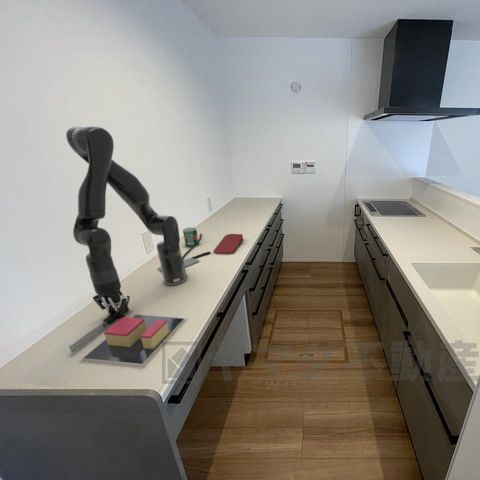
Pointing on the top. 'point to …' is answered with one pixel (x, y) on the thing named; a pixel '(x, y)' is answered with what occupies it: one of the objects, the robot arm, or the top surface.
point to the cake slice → (154, 334)
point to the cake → (125, 332)
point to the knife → (95, 330)
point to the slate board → (136, 350)
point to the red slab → (228, 244)
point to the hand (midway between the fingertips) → (117, 317)
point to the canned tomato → (190, 237)
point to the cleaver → (191, 260)
